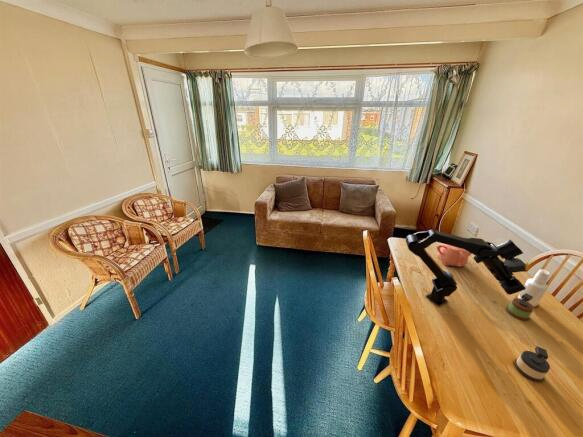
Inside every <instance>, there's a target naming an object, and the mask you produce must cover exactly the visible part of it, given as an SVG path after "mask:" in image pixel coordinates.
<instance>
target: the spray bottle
mask: <svg viewBox="0 0 583 437" xmlns="http://www.w3.org/2000/svg"><path fill="white" fill-rule="evenodd" d="M550 274H551V272H550V271H548V270H546V269H542V268H539V270H538V271H537V272H536V273H535V275H534V276H533V277H532V278H528V279H527V280H526V282H525V283H524V284H523V285H524V287H525V288H526V289H525V290H523V291H520V292H519V294H518V296H517V298H519V299H522V298H521V297H522V295H524V294H526V293H527V294H529V295H531V296H533V298H532V299H531V300H530V301H527V302H529V303H530V304H531V305H532V306H533V307H537V306H538V304H539V303H540V301H541V300H542V298H543V297H544V295H545V293H546V292H547V290H548V287H549V286H548V285H547V281H548V279H549V276H550Z"/></svg>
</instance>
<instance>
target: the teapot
mask: <svg viewBox="0 0 583 437" xmlns="http://www.w3.org/2000/svg"><path fill="white" fill-rule="evenodd" d="M436 249H437V253H438V257H439V259H440V260H441V261H442V262H443V264H444V266H446V267H450V266H455V267H458V268H462V267H463V266H465V265H467V264H468V262H469V257H470V256H471V255H473V254H472V253H470V252H468V251H467V250H465V249H462V248H458V247H454V246H450V245H447V244H443V243H441V244H437V245H436Z"/></svg>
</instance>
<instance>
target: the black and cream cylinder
mask: <svg viewBox="0 0 583 437" xmlns="http://www.w3.org/2000/svg"><path fill="white" fill-rule="evenodd" d="M545 361H546V363H543V362H542V359H541V358H538V357H537V356H536V352H534V351H531V350H524V351H522V352H521V353H520V355H519V356H518V358H517V360H516V362H515V364H514V366H515V368H516V370H517V371H518V372H519V373H520V374H521V375H522V376H523V377H525V378H527V379H529V380H531V381H534V382H540V381H542V380H543V379H544V377H545V376H546V375H547V374H548V373H549V371H550V370H551V366H550V363H549V361H547V360H545Z"/></svg>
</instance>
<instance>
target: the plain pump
mask: <svg viewBox="0 0 583 437" xmlns="http://www.w3.org/2000/svg"><path fill="white" fill-rule="evenodd" d="M534 351H535V352H534V353H536V356H537V357H538V358H541V359H542V362H543V363H546V361H547V360H548V358H549V354H548V351H547V349H545V348H543V347H541V346H538V345H536V346H535V347H534ZM545 360H546V361H545Z"/></svg>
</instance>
